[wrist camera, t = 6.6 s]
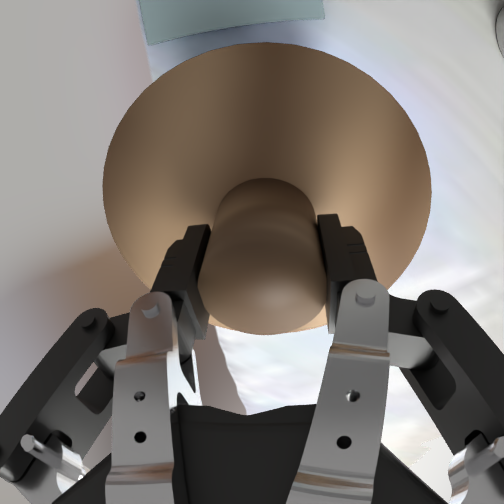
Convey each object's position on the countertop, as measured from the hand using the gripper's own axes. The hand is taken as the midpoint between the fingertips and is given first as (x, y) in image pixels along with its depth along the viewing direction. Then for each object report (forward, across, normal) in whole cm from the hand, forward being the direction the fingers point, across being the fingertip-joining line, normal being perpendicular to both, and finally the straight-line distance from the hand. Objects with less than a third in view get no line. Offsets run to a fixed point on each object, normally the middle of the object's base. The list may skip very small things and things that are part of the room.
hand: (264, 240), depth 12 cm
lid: (+2, 0, 0) cm, 2 cm away
